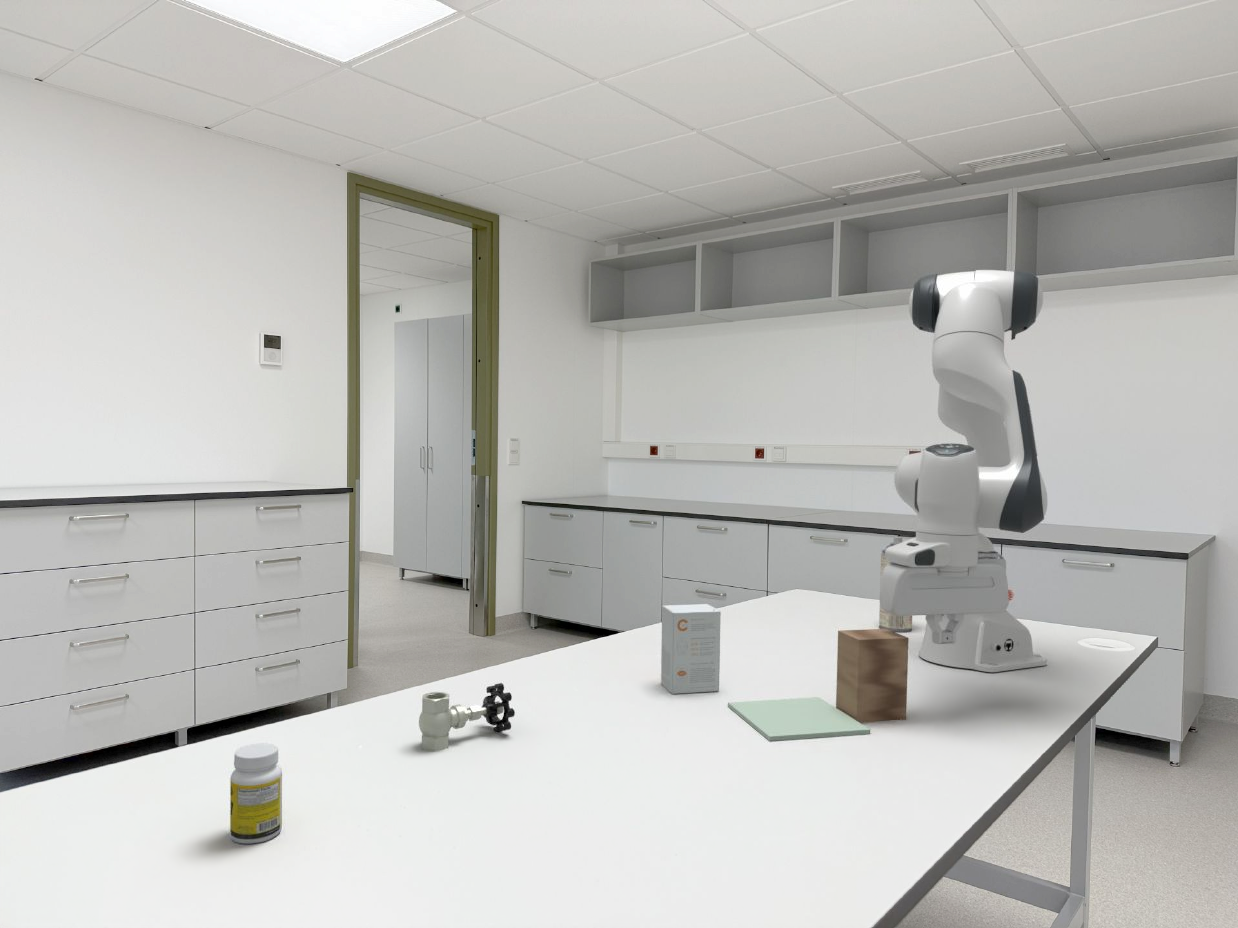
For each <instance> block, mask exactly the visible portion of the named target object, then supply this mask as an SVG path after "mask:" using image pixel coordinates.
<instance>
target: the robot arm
mask: <svg viewBox="0 0 1238 928" xmlns="http://www.w3.org/2000/svg"><path fill="white" fill-rule="evenodd" d="M1043 301H1044V293H1043V288H1042V286H1041V284H1040V282H1039V278H1038V276H1037V275H1036V274H1035V273H1034V272H1030V271H1027V270H1022V269H1015V270H1014V271H1009V270H997V269H976V270H975V271H960V272H959V271H958V272H950V273H943V274H940V275H939V274H938V273H933V274H929V275H925V276H922V277H920V278H919V279H918V280H917V281H916V282H915V283H914V286H913V289H912V291H911V292H910V295H909V299H908V313H909V315H910V318H911V320H912V324H913V325H914V326H915V328H917V329H918V330H920V331H923V332H927V333H933V341H932V354H931V355H932V356H931V361H932V362H931V364H932V365H931V366H932V373H933V377H934V378H935V380H936V382H937V383H938V384H939V388H938V401H937V402H938V404H937V415H938V418H939V420H940V421H941V423H942V424H943V425H944V426H946V427H947V428H948V429H950V430H952V431H953V432H956V433H958V434H959V435H962V436H964V437H965V440H966V443H967V444H962V443H940V444H939V443H937V444H932V445H929V446H928V447H926V448H925V449H924V450H923V451H920V452H916V453H909V454H906V455H905V456H904V457H902V459H901V460H900V461H899V462H898V464H897V466H896V469H895V472H894V486H895V487H894V488H895V490H896V493H897V494H898V496H899V497H900V499H901V500H902V501H903V502H904V503H906V505H908V506H909V507H910V508H911V509H912V510H913V511H914V512H915V513H916V514H917V516H918V522H917V524H916V528H915V536H914V537H912V538H909V539H907V540H904V541H902V543H899V544H896V545H894V546H891V547H888V548H887V549H886V548H885V549H886V550H885V549H884V550H885V559H886V560H887V561H889V562H892V563H889V564H888V565H887V566H886V567H885V568H884V570H883V573H882V578H881V577H880V578H881V585H879V586H880V587H879V588H880V589H879V607H880V606H881V608H882V609H883V611H884V612H885V613H888V614H890V615H894V616H912V617H913V616H925V622H926V625H925V632H924V635H923V640H922V643H921V646H920V649H919V651H918V656H919V657H920V658H921V659H924V660H925V661H927V662H931V663H934V664H938V665H941V666H942V665H943V666H946V667H953V668H960V669H970V670H975V671H980V672H986V673H998V672H1005V671H1012V670H1020V669H1026V668H1027V669H1028V668H1035V667H1042V666H1046V665H1047V659H1046V658H1045V657H1044V656H1042V655H1040V654H1038V653H1036V652H1034V650H1033V640H1032V635H1031V632H1030V630H1029V629H1028V627H1027V626H1026V625H1024V624H1023V623H1022V622H1020V620H1018V619H1017V618H1016V617H1014V615H1012V614H1011V613H1010V612H1009V611H1008V610H1007V609H1008V607H1009V605H1010V603H1009V601H1011V600H1013V599H1014V596H1015V594H1014V592H1013V590H1011V589H1009V584H1008V578H1007V577H1008V576H1007V561H1006V559H1005V557H1004V556H1003V555H1002V554H1000V553H999V552H998V551H996V549H995V547H994V545H993V543H992V541H991V540H990V539H989V538H988V537H987V536H986V535H984V534H983V533H981V532H980V530H979V528H981V529H982V528H983V529H985V528H986V529H996V530H998V529H999V531H1007V532H1013V533H1021V534H1024V533H1027V532H1028V531H1030V530H1031V529H1033V528H1035V527H1036V526H1038V525H1039V524H1041V522H1043V521H1044V520H1045V516H1046V513H1047V510H1048V493H1047V488H1046V485H1045V481H1044V479H1043V476H1042V473H1041V470H1040V467H1039V462H1038V452H1037V445H1036V443H1037V442H1036V440H1035V438H1036V437H1035V432H1034V424H1033V418H1032V413H1031V412H1032V411H1031V406H1030V403H1029V399H1028V398H1029V397H1028V392H1027V387H1026V384H1025V380H1024V379H1023V376H1022V374H1021V373H1020V372H1018V371H1015V370H1014V369H1012V368H1011V367H1010V365H1009V363H1008V362H1007V360H1006V357H1005V333H1007V332H1009V331H1010V332H1011V339H1010V340H1011V341H1013V340H1016V335H1018V334H1020V333H1023V332H1025V331H1027V330H1029V328H1030V327H1032V326H1033V325H1034V323H1036V321H1037V318H1038V316H1039V314H1040V312H1041V310H1042V308H1043V304H1044V302H1043Z"/></svg>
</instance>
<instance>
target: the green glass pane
mask: <svg viewBox="0 0 1238 928" xmlns="http://www.w3.org/2000/svg"><path fill="white" fill-rule="evenodd" d="M727 707H728V708H729V709H730V710H732V711H733V712H734V713H735V714H737V716H739V718H741V719H742V720H743V721H745V722H746V723H747V724H748V725H750V726H751V727H752V728H753V729H755V730H756V731H757V732H758V733H759V734H760V735H761V736H763V737H764V738H765V739H766V740H768V741H769V742H776V741H790V740H803V739H805V740H806V739H817V738H828V737H829V738H831V737H845V736H846V737H847V736H858V735H869V734H871V729H870V728H869V727H867V726H866V725H864V723H859V722H858V721H856V720H855V719H853V718H851V717H850V716H848V715H847V714H845V713H843V712H842V711H840V710H839V709H837V708H836V706H834V705H832V704H831V703H829V702H827V701H826V700H824V699H822V698H821V697H820V696H817V697H816V696H815V697H801V698H784V699H783V698H782V699H781V698H779V699H767V700H766V699H765V700H750V701H748V700H747V701H733V702H731V701H730V702H727Z"/></svg>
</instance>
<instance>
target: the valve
mask: <svg viewBox="0 0 1238 928" xmlns="http://www.w3.org/2000/svg"><path fill="white" fill-rule="evenodd" d="M485 689H486V693H487V694H490V695H486V696H485V697H484V698H483V701H482V706H480V705H473V706H469V707H467V708H466V707H464V706H463V705H462V704H459V703H458V704H456V705H454V704H453V705H451V706H450V694H449V693H448V692H443V691H434V692H427V693H424V694H423V695H422V699H421V701H422V703H421V704H422V705H421V712H420V715H419V718H418V727H419V730H420V732H421V749H422V750H423V751H424V750H425V751H429V750H430V751H431V752H437V751H442V750H446V749H445V748H447V749H449V741H450V739H449V738H450V737H449V736H450V735H449V734H450V731H451V728H452V729H455V730H458V729H462V728H464V727H465V726H466V723H467V721H469V722H473V721H477V720H480V719H481V718H482V716H483V717H484V718H485V721H486V723H488V724H489V725H491V726H492V728H493V732H494V731H495V733H496V732H497V733H501V732H504V731H509V730H511V728H512V723H511V721H509V719H510V718H513V717H515V715H516V714H515V713H516V712H515V710H514V709H513V707H512V708H510V703H509V702H511V701H512V693H511V692H504V690H505V686H504V683H502V682H500V683H495V684H494V685H489V686H487V687H486V688H485ZM497 697H498V698H499V699H500V700H501V701H500V700H498V701H496V698H497ZM501 714H503V715H502V719H501V718H500V717H498V715H501Z"/></svg>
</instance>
